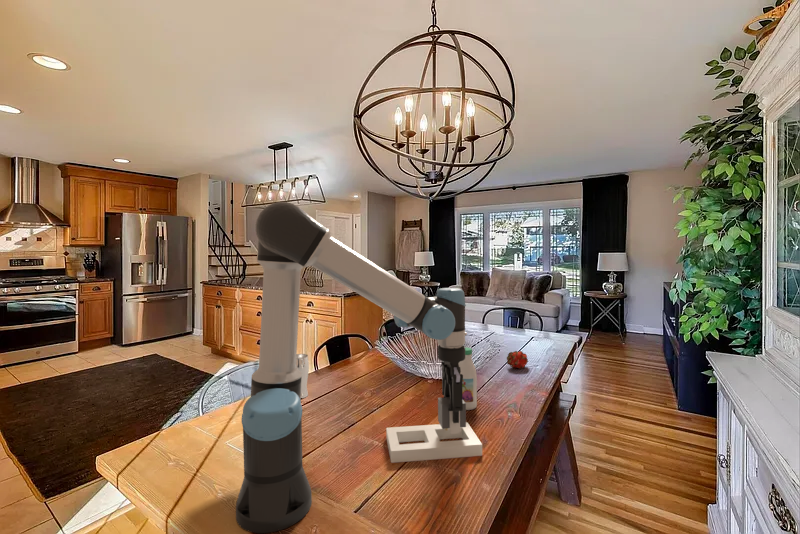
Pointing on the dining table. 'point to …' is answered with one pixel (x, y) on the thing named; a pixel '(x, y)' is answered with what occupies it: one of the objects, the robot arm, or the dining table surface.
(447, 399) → the plug
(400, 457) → the socket plate
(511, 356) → the dragon fruit
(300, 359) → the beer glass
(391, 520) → the dining table surface
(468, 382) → the milk bottle
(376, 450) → the dining table surface
